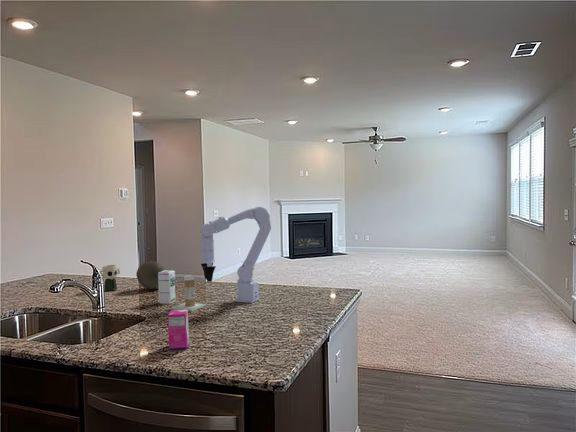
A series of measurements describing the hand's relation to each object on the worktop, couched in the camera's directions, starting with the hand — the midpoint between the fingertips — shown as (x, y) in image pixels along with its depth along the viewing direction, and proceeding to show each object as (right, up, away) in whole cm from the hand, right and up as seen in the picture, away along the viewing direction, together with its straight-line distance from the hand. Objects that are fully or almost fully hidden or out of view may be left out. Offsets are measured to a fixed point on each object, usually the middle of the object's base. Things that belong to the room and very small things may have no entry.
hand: (208, 280), depth 204 cm
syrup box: (-19, -11, +3) cm, 22 cm away
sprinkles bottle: (-7, -10, -7) cm, 14 cm away
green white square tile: (-7, -11, -7) cm, 15 cm away
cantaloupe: (-36, -10, +32) cm, 49 cm away
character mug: (-57, -10, +32) cm, 66 cm away
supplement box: (+1, -13, -59) cm, 61 cm away
